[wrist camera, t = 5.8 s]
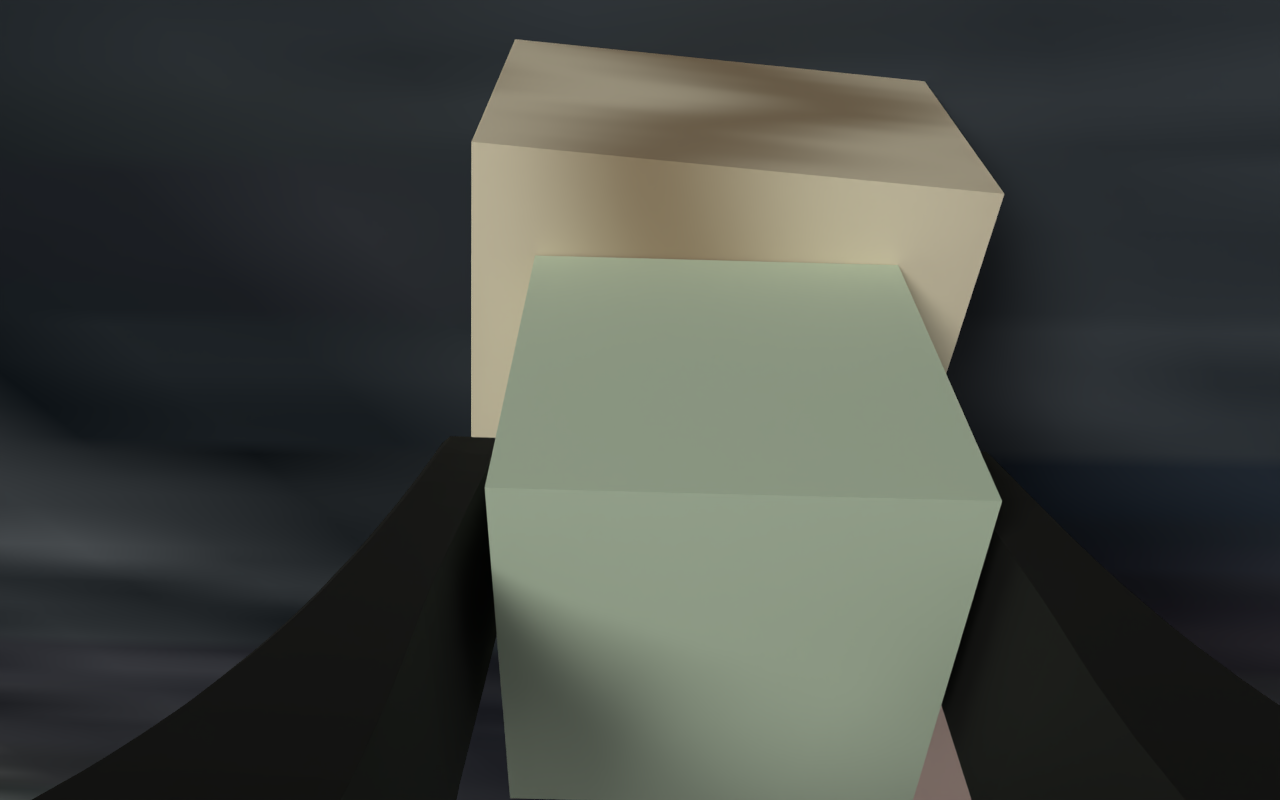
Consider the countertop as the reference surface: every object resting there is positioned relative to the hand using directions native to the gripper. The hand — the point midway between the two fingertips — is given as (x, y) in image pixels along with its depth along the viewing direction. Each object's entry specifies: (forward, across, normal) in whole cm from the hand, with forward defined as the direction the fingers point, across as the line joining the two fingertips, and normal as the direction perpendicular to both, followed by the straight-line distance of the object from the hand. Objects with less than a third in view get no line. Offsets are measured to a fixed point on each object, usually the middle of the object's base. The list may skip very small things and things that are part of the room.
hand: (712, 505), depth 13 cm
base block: (+8, 0, 0) cm, 8 cm away
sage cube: (+3, 0, 0) cm, 3 cm away
